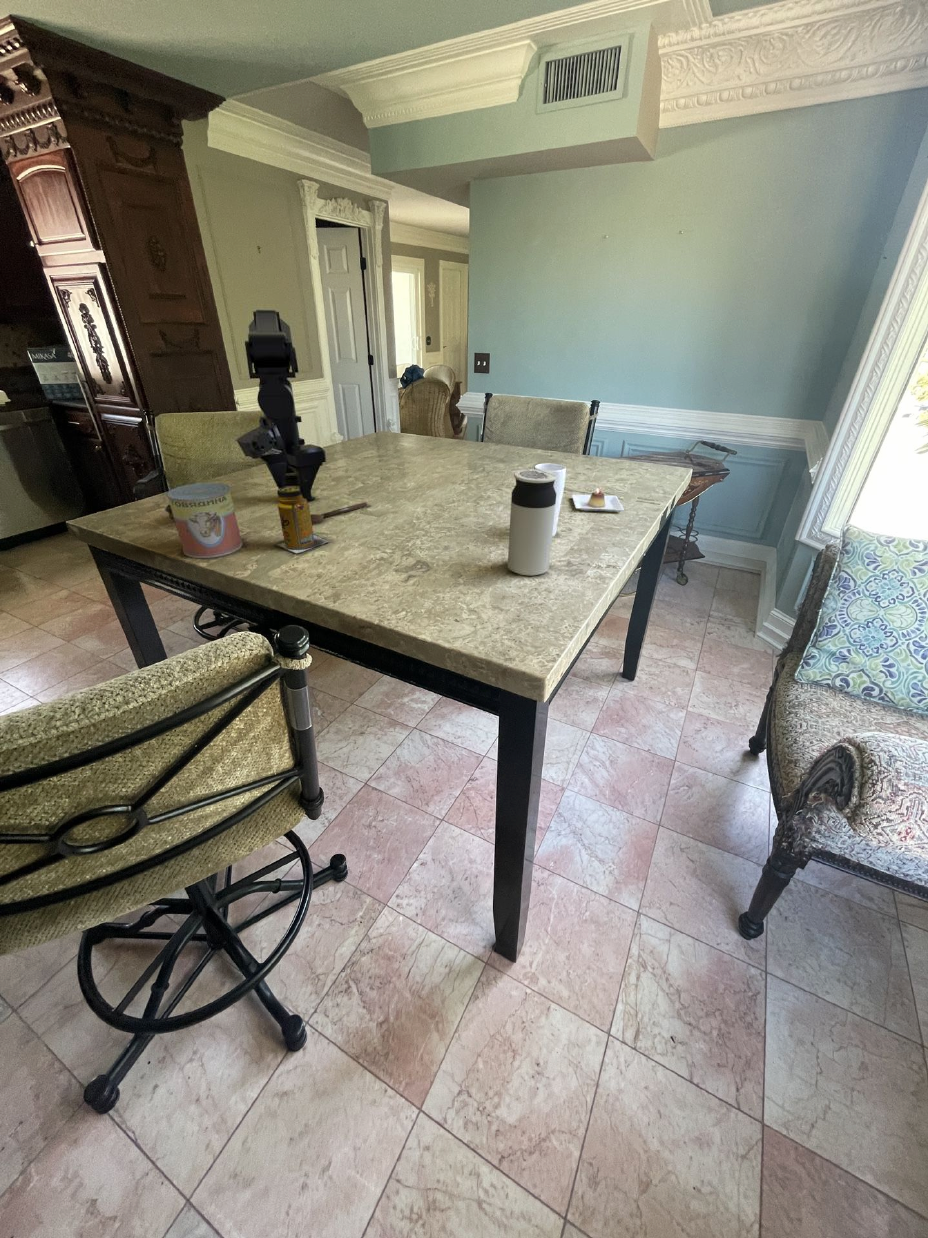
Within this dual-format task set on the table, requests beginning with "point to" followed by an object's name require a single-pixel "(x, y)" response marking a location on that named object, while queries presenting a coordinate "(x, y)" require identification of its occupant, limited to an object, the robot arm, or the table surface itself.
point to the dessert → (597, 502)
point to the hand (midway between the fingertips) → (293, 493)
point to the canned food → (205, 519)
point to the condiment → (296, 521)
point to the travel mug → (531, 522)
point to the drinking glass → (555, 486)
